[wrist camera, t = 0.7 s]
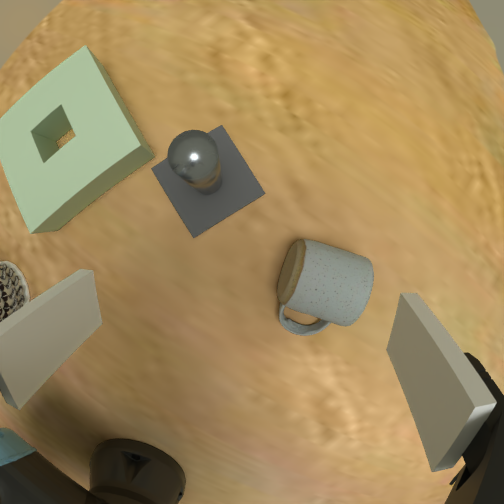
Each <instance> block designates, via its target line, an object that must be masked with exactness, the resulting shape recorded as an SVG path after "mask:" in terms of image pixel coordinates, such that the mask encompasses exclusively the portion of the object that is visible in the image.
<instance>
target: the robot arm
mask: <svg viewBox="0 0 504 504" xmlns="http://www.w3.org/2000/svg"><path fill="white" fill-rule="evenodd" d="M102 324H103V323H102V318H101V314H100V308H99V303H98V298H97V292H96V286H95V280H94V273H93V270H86V269H79V270H78V271H76V272H75V273H73V274H71V275H70V276H68V277H67V278H65V279H64V280H62V281H60V282H59V283H57V284H56V285H54V286H53V287H51V288H50V289H48V290H47V291H45V292H44V293H42V294H40V295H39V296H37V297H36V298H34V299H33V300H32V301H30V302H29V303H27V304H26V305H24V306H23V307H21V308H20V309H18V310H17V311H15V312H14V313H13V314H11V315H10V316H8V317H7V318H5V319H4V320H3V321H1V322H0V391H1V393H2V395H3V397H4V399H5V401H6V403H8V404H9V405H11V406H13V407H15V408H16V409H18V410H20V409H21V408H22V407H23V406H24V405H25V403H26V402H27V401H28V400H29V399H30V398H31V397H32V396H33V395H34V394H35V393H36V391H37V390H38V389H39V388H40V387H41V386H42V385H43V384H44V383H45V382H46V381H47V380H48V379H49V378H50V377H51V376H52V374H53V373H54V372H55V371H56V370H57V369H58V368H59V367H60V366H61V365H62V364H63V363H64V362H65V361H66V360H67V359H68V358H69V357H70V356H71V355H72V354H73V353H74V352H75V351H76V350H77V349H78V348H79V347H80V346H81V345H82V344H83V343H84V342H85V341H86V340H87V339H88V338H89V337H90V336H91V335H92V334H93V333H94V332H95V331H96V330H97V329H98V328H99V327H100V326H101V325H102ZM386 350H387V352H388V355H389V357H390V360H391V362H392V364H393V367H394V369H395V372H396V374H397V377H398V379H399V381H400V384H401V386H402V389H403V392H404V394H405V397H406V399H407V402H408V405H409V407H410V410H411V413H412V415H413V418H414V421H415V423H416V426H417V429H418V432H419V435H420V438H421V440H422V443H423V446H424V449H425V452H426V455H427V458H428V462H429V465H430V468H431V471H432V472H435V471H440V470H444V469H449V468H453V467H454V465H455V464H456V463H457V461H458V460H459V459H460V458H461V456H463V458H464V461H465V463H466V464H465V465H464V466H463V468H462V469H461V470H460V471H459V473H458V474H457V475H456V476H455V477H454V478H453V480H452V481H451V482H450V483H449V484H450V485H452V484H453V483H454V482H455V481H456V482H455V484H454V486H453V488H452V490H451V492H450V494H449V496H448V498H447V500H446V502H445V504H504V395H503V394H502V392H501V391H500V389H499V388H498V386H497V385H496V384H495V382H494V381H493V379H491V376H490V375H489V374H488V372H486V371H485V368H484V367H483V365H482V364H481V363H480V361H479V360H478V359H476V358H475V357H474V356H472V355H471V354H470V353H463V352H462V350H461V349H460V348H459V346H458V345H457V344H456V342H455V341H454V340H453V338H452V337H451V336H450V334H449V333H448V332H447V330H446V329H445V328H444V326H443V325H442V324H441V322H440V321H439V320H438V319H437V317H436V316H435V315H434V314H433V312H432V311H431V310H430V309H429V307H428V306H427V305H426V304H425V302H424V301H423V300H422V299H421V297H420V296H419V295H418V294H417V293H401V294H400V298H399V303H398V307H397V311H396V315H395V319H394V323H393V327H392V331H391V335H390V339H389V342H388V346H387V349H386ZM185 483H186V479H185V475H184V472H183V470H182V469H181V467H180V466H179V465H178V464H177V463H176V462H175V461H174V460H173V459H172V458H171V457H170V456H168V455H167V454H165V453H164V452H162V451H160V450H158V449H156V448H154V447H152V446H150V445H147V444H144V443H141V442H137V441H133V440H126V439H113V440H108V441H105V442H103V443H101V444H99V445H98V446H97V447H96V449H95V451H94V453H93V455H92V457H91V459H90V490H89V491H87V490H86V489H85V488H83V487H82V486H80V485H79V484H78V483H76V482H75V481H74V480H72V479H71V478H69V477H68V476H67V475H65V474H64V473H63V472H62V471H60V470H59V469H58V468H56V467H55V466H54V465H53V464H52V463H50V462H49V461H48V460H47V459H46V458H44V457H43V456H42V455H41V454H40V453H39V452H37V449H35V447H31V446H30V445H29V444H28V443H27V442H25V441H24V440H23V439H22V438H21V437H20V436H19V435H18V434H16V433H15V432H14V431H13V430H11V429H8V428H0V504H178V502H179V501H180V500H181V498H182V497H183V494H184V491H185Z"/></svg>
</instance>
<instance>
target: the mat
mask: <svg viewBox="0 0 504 504" xmlns="http://www.w3.org/2000/svg"><path fill="white" fill-rule="evenodd" d="M207 134H208V135H210V136H211V137H212V138H213V139H214V141H215V143H216V145H217V148H218V154H219V160H220V167H221V174H222V184H221V187H220V188H219V190H218V191H217V192H215V193H213V194H210V195H203V194H201V193H199V192H197V191H196V190H195V189H194V188H193V187H191V186H190V185H189V184H188V183H187V182H185V181H184V180H183V179H182V178H181V177H179V176H178V175H177V174H176V173H175V172H174V171H173V170H172V169H171V167H170V165H169V162H168V158H166V159H165V160H163V161H162V162H160V163H159V164H157V165H156V166H154V167H153V168H151V169H152V171H153V172H154V174H155V176H156V177H157V179H158V181H159V183H160V184H161V186H162V188H163V189H164V191H165V193H166V194H167V196H168V197H169V199H170V201H171V202H172V204H173V206H174V207H175V209H176V211H177V212H178V214H179V216H180V217H181V219H182V220H183V222H184V224H185V225H186V227H187V228H188V230H189V232H190V233H191V235H192V236H193V238H195V237H196V236H198V235H199V234H201V233H203V232H204V231H206V230H207V229H209V228H210V227H212V226H214V225H215V224H217V223H218V222H220V221H222V220H223V219H225V218H226V217H228V216H230V215H231V214H233V213H234V212H236V211H238V210H239V209H241V208H243V207H244V206H246V205H247V204H249V203H251V202H252V201H254V200H256V199H257V198H259V197H261V196H262V195H264V194H265V192H264V191H263V189H262V188H261V186H260V184H259V183H258V181H257V179H256V178H255V176H254V175H253V173H252V171H251V170H250V168H249V167H248V165H247V163H246V162H245V160H244V159H243V157H242V156H241V154H240V152H239V151H238V149H237V148H236V146H235V145H234V143H233V142H232V140H231V138H230V137H229V135H228V134H227V132H226V131H225V129H224V128H223V126H222V125H221V126H219V127H217V128H215V129H214V130H212V131H210V132H209V133H207Z"/></svg>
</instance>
